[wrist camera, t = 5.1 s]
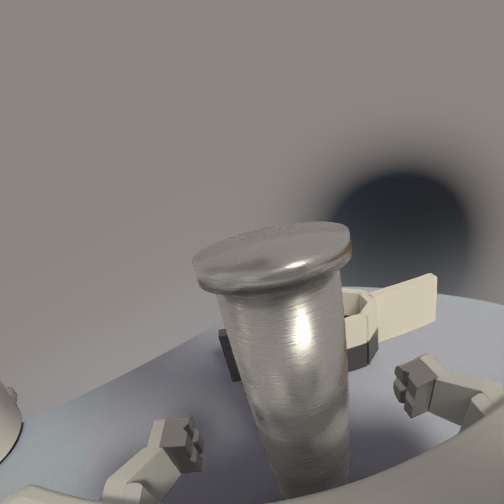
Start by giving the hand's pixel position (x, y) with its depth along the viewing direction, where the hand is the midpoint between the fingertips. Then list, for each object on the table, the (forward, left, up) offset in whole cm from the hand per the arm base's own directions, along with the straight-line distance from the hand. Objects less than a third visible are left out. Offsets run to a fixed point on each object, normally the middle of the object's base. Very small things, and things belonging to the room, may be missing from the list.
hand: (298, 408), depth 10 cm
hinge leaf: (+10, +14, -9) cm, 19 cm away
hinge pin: (0, 0, -9) cm, 9 cm away
